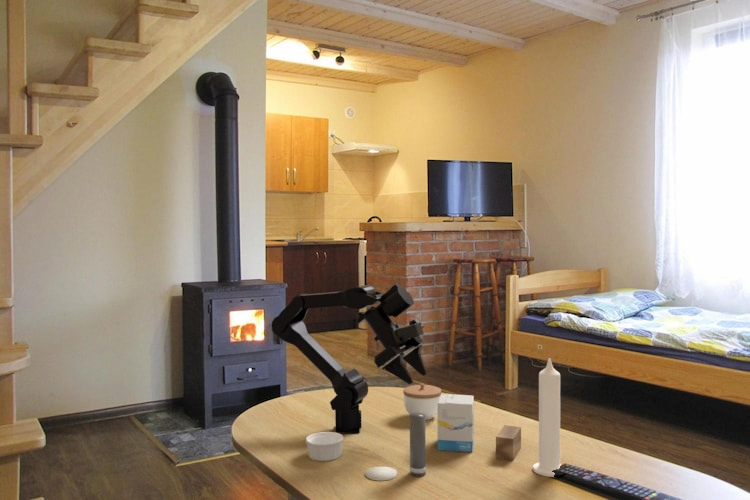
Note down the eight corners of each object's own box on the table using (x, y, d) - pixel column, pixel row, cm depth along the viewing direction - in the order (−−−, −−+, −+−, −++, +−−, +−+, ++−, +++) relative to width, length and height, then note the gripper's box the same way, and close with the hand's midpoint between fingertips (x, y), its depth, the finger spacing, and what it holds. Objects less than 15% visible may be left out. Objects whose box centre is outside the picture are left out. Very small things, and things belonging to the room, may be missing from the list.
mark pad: (365, 481, 134) (365, 479, 134) (365, 468, 141) (365, 466, 141) (398, 480, 134) (398, 479, 134) (396, 467, 141) (396, 466, 141)
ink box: (472, 452, 150) (472, 404, 149) (437, 450, 152) (436, 402, 151) (474, 440, 158) (474, 394, 158) (440, 438, 160) (440, 393, 160)
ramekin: (309, 464, 144) (309, 445, 144) (303, 451, 152) (303, 433, 152) (347, 460, 146) (347, 441, 146) (339, 447, 155) (339, 429, 155)
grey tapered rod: (410, 476, 136) (410, 417, 135) (409, 470, 139) (408, 412, 139) (426, 476, 136) (426, 417, 135) (425, 470, 140) (424, 412, 139)
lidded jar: (448, 414, 179) (447, 382, 179) (430, 425, 170) (430, 390, 170) (415, 409, 185) (414, 377, 185) (396, 418, 176) (396, 385, 176)
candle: (566, 466, 141) (567, 355, 140) (565, 479, 134) (565, 362, 133) (534, 463, 143) (534, 354, 142) (531, 475, 136) (531, 360, 135)
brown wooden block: (496, 457, 146) (495, 436, 146) (504, 445, 155) (504, 425, 154) (513, 460, 145) (513, 439, 144) (521, 447, 153) (521, 427, 153)
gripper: (391, 314, 150) (429, 370, 147) (420, 305, 167) (454, 354, 163) (358, 340, 154) (394, 394, 151) (390, 328, 171) (422, 377, 167)
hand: (418, 378), depth 158 cm, fingers open, 9 cm apart
